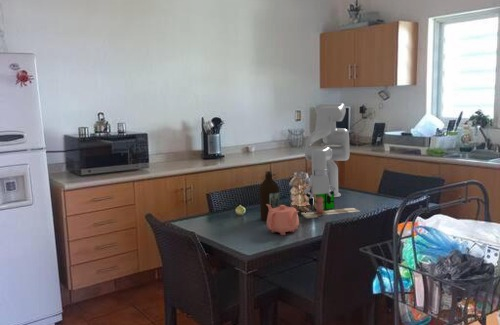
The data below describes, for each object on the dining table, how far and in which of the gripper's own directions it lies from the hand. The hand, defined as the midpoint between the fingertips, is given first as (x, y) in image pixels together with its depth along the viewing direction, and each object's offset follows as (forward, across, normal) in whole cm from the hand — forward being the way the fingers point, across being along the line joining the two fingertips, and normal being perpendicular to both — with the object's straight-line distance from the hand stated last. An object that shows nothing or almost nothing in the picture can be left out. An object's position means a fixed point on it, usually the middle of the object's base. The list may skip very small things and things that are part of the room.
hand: (319, 204), depth 242 cm
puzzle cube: (+6, -6, -12) cm, 15 cm away
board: (+6, -6, +1) cm, 8 cm away
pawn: (+5, 0, +1) cm, 5 cm away
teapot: (+5, +27, +23) cm, 36 cm away
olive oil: (+6, +27, 0) cm, 28 cm away
